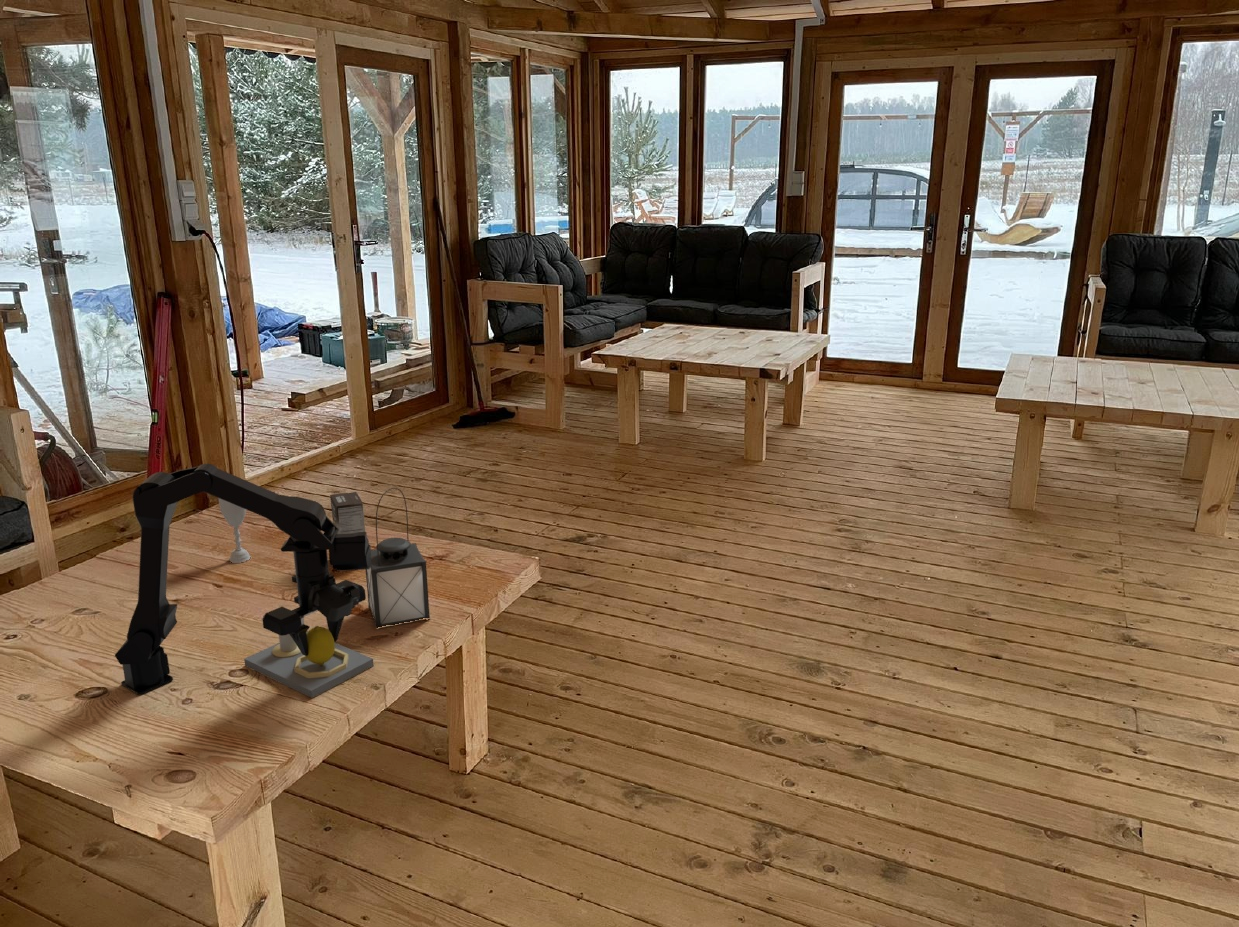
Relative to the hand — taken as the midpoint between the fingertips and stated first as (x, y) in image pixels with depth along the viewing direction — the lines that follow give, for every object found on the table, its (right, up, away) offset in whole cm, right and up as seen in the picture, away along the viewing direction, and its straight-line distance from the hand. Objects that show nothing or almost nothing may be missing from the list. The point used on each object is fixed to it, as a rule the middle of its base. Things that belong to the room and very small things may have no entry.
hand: (320, 648), depth 170 cm
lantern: (+9, +2, +25) cm, 26 cm away
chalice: (-37, +11, +53) cm, 65 cm away
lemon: (0, -3, +1) cm, 4 cm away
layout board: (-3, -4, +4) cm, 6 cm away
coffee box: (-9, +11, +52) cm, 54 cm away
